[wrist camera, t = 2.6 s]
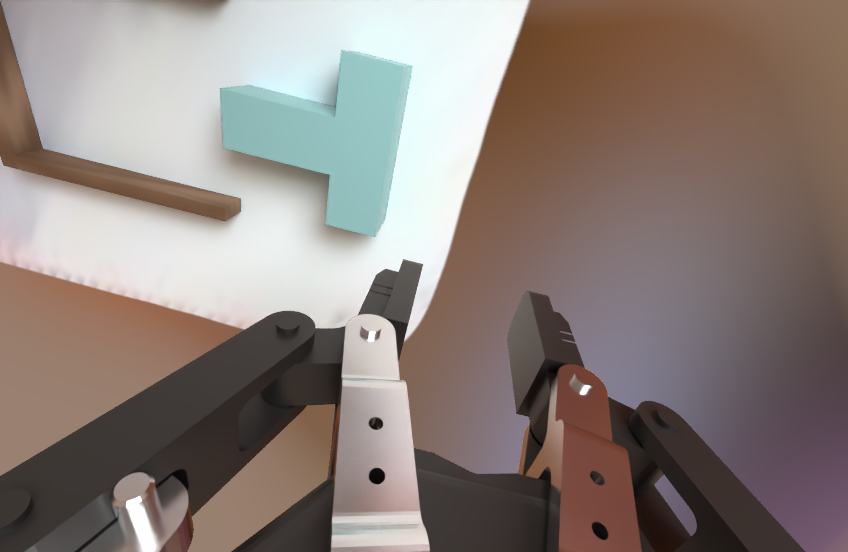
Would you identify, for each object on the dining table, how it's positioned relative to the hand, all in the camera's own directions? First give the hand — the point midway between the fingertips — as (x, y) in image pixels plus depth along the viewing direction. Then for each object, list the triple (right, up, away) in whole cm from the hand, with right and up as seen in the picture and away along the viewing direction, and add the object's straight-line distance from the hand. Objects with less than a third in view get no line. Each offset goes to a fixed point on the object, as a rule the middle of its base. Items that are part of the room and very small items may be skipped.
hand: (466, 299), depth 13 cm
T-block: (-9, +12, +17) cm, 23 cm away
